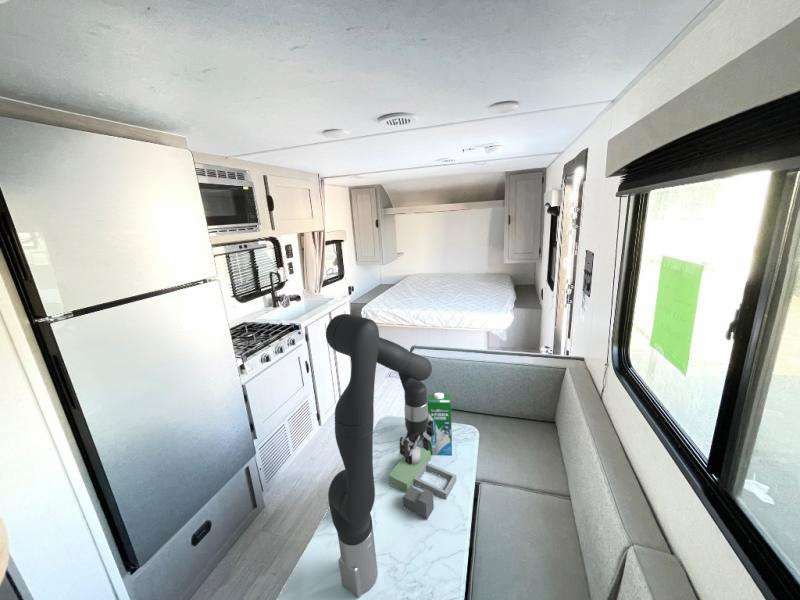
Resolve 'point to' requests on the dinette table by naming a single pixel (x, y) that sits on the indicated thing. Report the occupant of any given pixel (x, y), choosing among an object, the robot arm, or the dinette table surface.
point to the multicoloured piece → (419, 473)
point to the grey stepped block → (419, 502)
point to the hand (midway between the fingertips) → (418, 455)
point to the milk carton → (440, 424)
